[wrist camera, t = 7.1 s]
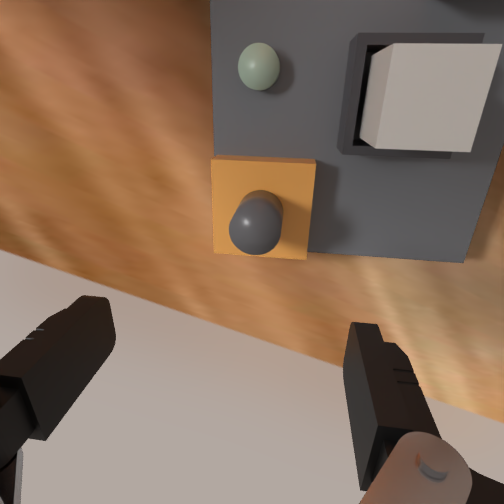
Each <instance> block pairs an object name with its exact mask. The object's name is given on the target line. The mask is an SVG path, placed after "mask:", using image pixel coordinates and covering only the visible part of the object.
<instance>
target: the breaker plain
mask: <svg viewBox="0 0 504 504" xmlns="http://www.w3.org/2000/svg"><path fill="white" fill-rule="evenodd" d="M502 45H503V44H435V43H393V44H392V45H390V46H388V47H386V48H384V49H383V50H381V51H379V52H377V53H375V54H373V55H372V56H371V61H370V67H369V74H368V81H367V87H366V94H365V100H364V107H363V113H362V120H361V126H360V133H359V138H361V139H362V140H364V141H365V142H367V143H368V144H370V145H371V146H372V147H374V148H375V149H401V150H426V151H452V152H471V148H472V145H473V142H474V138H475V135H476V132H477V128H478V125H479V122H480V118H481V115H482V112H483V108H484V105H485V101H486V98H487V95H488V91H489V88H490V85H491V81H492V78H493V75H494V71H495V68H496V65H497V61H498V58H499V55H500V51H501V48H502Z"/></svg>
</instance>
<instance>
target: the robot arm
mask: <svg viewBox="0 0 504 504" xmlns="http://www.w3.org/2000/svg"><path fill="white" fill-rule="evenodd" d="M115 340H116V334H115V328H114V323H113V317H112V313H111V308H110V303H109V300H108V299H107V298H105V297H96V296H86V295H84V296H81V297H79V298H78V299H77V300H76V301H75V302H74V303H73V304H72V305H70V306H69V307H68V308H67V309H63V310H62V311H60V312H58V313H56V314H54V315H52V316H50V317H48V318H47V319H46V320H45V321H44V322H43V323H42V324H40V325H39V326H38V327H37V328H36V331H33V332H31V333H30V334H29V335H28V336H27V337H26V339H25V340H22V341H21V342H20V343H19V344H18V345H17V346H15V347H14V348H13V349H12V350H11V351H10V352H8V353H7V354H6V355H5V356H4V357H3V358H2V359H0V504H20V502H21V484H22V468H23V451H22V448H21V446H22V445H23V444H24V443H25V441H26V440H27V439H28V438H30V439H36V440H43V441H46V440H47V438H48V437H49V436H50V434H51V433H52V432H53V430H54V429H55V428H56V426H57V425H58V424H59V422H60V421H61V419H62V418H63V417H64V415H65V414H66V413H67V411H68V410H69V409H70V407H71V406H72V405H73V403H74V402H75V401H76V399H77V398H78V397H79V395H80V394H81V392H82V391H83V390H84V389H85V387H86V386H87V384H88V383H89V382H90V380H91V379H92V378H93V376H94V375H95V374H96V372H97V371H98V370H99V368H100V367H101V366H102V364H103V363H104V362H105V360H106V359H107V358H108V356H109V355H110V353H111V352H112V350H113V348H114V345H115ZM343 379H344V386H345V393H346V399H347V406H348V412H349V419H350V426H351V433H352V439H353V446H354V453H355V459H356V466H357V472H358V479H359V486H360V490H362V491H367V492H366V494H365V495H364V497H363V498H362V500H361V501H360V503H359V504H504V484H502V483H500V482H497V481H495V480H493V479H490V478H488V477H486V476H483V475H481V474H479V473H477V472H476V471H474V470H472V469H471V468H469V467H468V465H467V464H466V462H465V460H464V459H463V457H462V456H461V455H460V454H459V453H458V452H457V451H456V450H455V449H454V448H453V447H452V446H451V445H450V444H448V443H447V442H446V441H444V440H442V438H441V436H440V434H439V431H438V429H437V427H436V424H435V422H434V419H433V417H432V414H431V412H430V409H429V407H428V405H427V402H426V400H425V397H424V395H423V392H422V390H421V388H420V386H419V383H418V380H417V378H416V375H415V374H414V371H413V368H412V366H411V363H410V361H409V358H408V356H407V355H406V354H405V353H404V352H403V351H402V350H401V349H400V348H399V347H398V345H397V344H396V343H390V342H384V341H383V338H382V335H381V332H380V329H379V327H378V325H377V324H369V323H359V322H352V323H351V325H350V329H349V335H348V340H347V345H346V351H345V356H344V363H343Z"/></svg>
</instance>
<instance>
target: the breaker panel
mask: <svg viewBox="0 0 504 504" xmlns="http://www.w3.org/2000/svg"><path fill="white" fill-rule="evenodd" d="M210 20H211V55H212V91H213V127H214V157H215V156H216V155H234V156H258V157H281V158H304V159H315V161H316V170H315V180H314V190H313V199H312V209H311V219H310V228H309V238H308V248H307V252H318V253H332V254H345V255H359V256H373V257H386V258H400V259H414V260H427V261H441V262H455V263H464V260H465V257H466V254H467V251H468V248H469V245H470V242H471V239H472V236H473V233H474V230H475V227H476V224H477V221H478V218H479V215H480V212H481V210H482V207H483V204H484V201H485V198H486V195H487V192H488V189H489V186H490V183H491V180H492V177H493V174H494V171H495V168H496V165H497V162H498V159H499V156H500V153H501V150H502V147H503V144H504V0H210ZM393 43H435V44H503V45H502V48H501V51H500V55H499V58H498V61H497V65H496V68H495V71H494V75H493V78H492V81H491V85H490V88H489V91H488V95H487V98H486V101H485V105H484V108H483V112H482V115H481V118H480V122H479V125H478V128H477V132H476V135H475V138H474V142H473V145H472V148H471V152H452V151H426V150H401V149H375V148H374V147H372V146H371V145H370V144H368V143H367V142H365V141H364V140H362V139H361V138H359V133H360V126H361V120H362V113H363V107H364V100H365V94H366V87H367V81H368V74H369V67H370V61H371V56H372V55H373V54H375V53H377V52H379V51H381V50H383V49H384V48H386V47H388V46H390V45H392V44H393Z"/></svg>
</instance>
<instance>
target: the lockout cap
mask: <svg viewBox="0 0 504 504" xmlns="http://www.w3.org/2000/svg"><path fill="white" fill-rule="evenodd" d="M315 170H316V161H315V159H304V158H281V157H258V156H234V155H216V156H215V157H213V158H212V159H211V180H212V210H213V241H214V253H221V254H234V255H247V256H260V257H274V258H287V259H300V260H306V257H307V248H308V238H309V228H310V219H311V209H312V199H313V190H314V180H315Z"/></svg>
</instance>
